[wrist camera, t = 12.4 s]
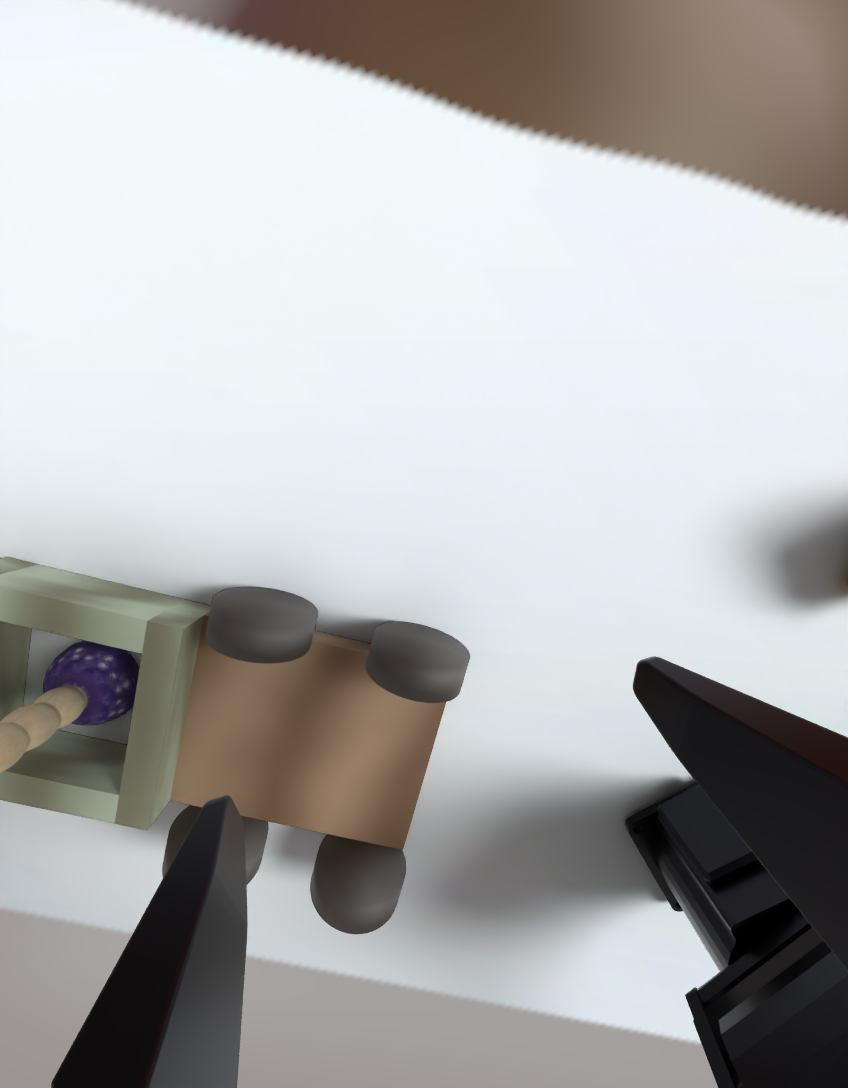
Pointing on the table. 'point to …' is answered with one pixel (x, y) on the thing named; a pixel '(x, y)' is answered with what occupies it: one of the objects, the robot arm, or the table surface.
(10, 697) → the chassis
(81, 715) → the toy lamp
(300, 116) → the table surface
